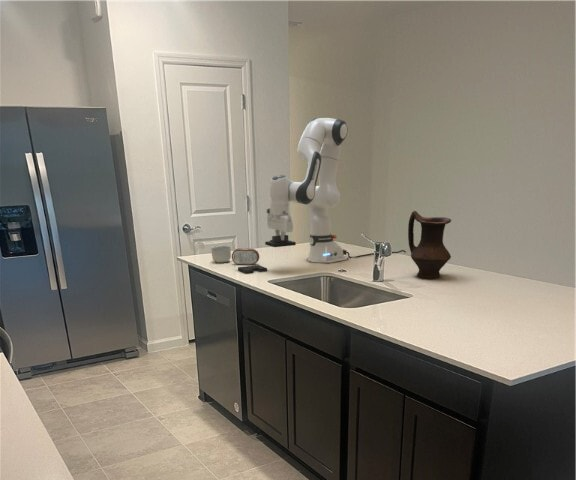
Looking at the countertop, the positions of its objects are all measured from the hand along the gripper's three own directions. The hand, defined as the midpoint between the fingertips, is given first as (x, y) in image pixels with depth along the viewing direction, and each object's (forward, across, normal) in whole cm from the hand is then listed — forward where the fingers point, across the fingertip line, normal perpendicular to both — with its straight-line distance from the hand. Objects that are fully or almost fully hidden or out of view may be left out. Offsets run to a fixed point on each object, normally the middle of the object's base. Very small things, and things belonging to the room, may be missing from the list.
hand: (280, 239), depth 273 cm
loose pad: (+3, +2, 0) cm, 3 cm away
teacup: (+16, +44, +15) cm, 49 cm away
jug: (+16, -49, -54) cm, 74 cm away
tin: (+16, +28, +7) cm, 33 cm away
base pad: (+16, +11, +11) cm, 22 cm away
